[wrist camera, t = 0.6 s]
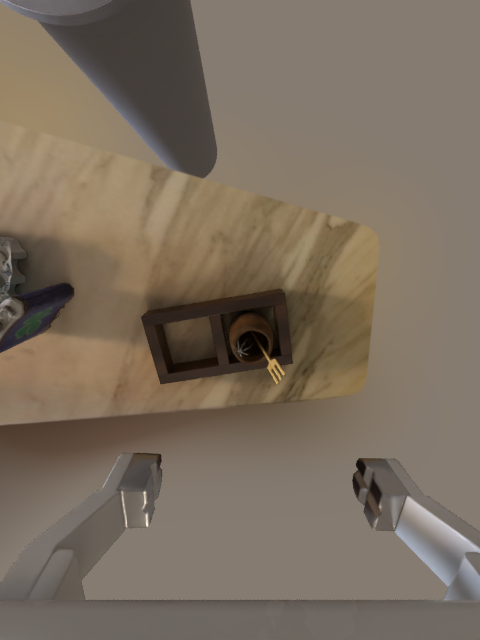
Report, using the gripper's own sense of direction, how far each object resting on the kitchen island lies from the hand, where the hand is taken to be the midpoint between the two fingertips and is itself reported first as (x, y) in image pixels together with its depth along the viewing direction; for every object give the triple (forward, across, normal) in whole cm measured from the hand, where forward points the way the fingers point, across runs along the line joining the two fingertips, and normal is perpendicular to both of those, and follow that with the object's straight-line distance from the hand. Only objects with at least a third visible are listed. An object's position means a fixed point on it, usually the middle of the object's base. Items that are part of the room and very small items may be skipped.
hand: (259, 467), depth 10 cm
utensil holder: (+28, -2, +4) cm, 28 cm away
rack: (+27, +3, +5) cm, 28 cm away
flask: (+28, +27, +2) cm, 39 cm away
